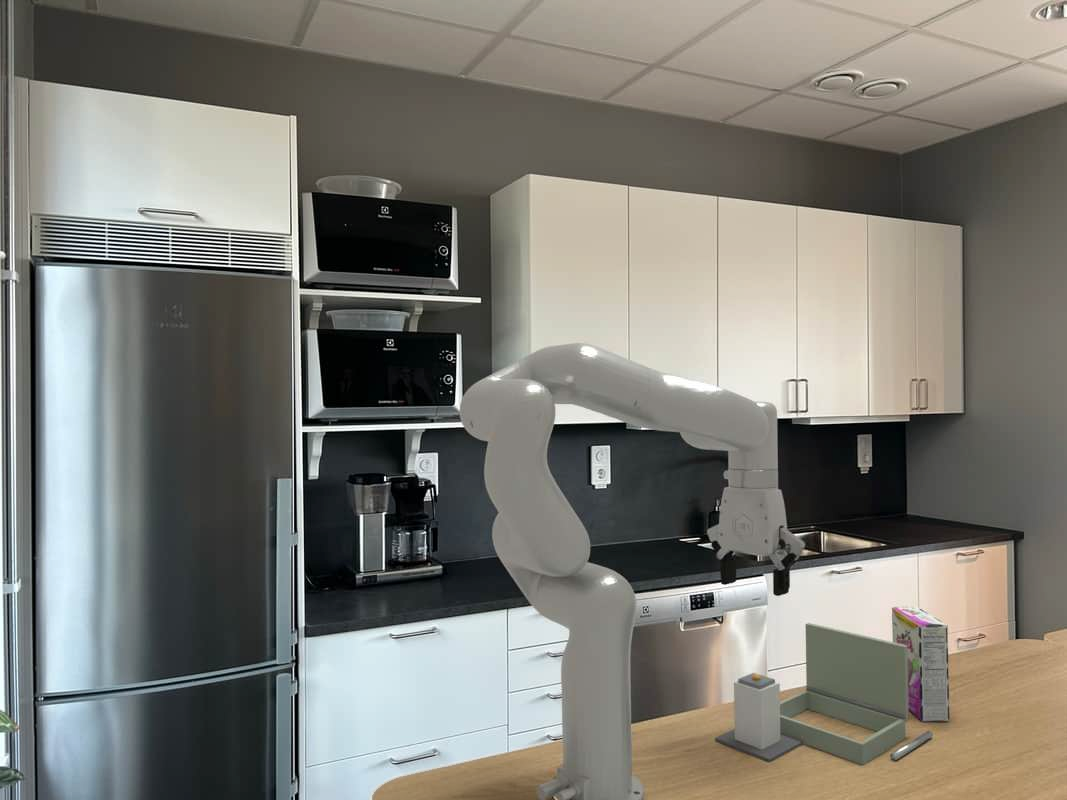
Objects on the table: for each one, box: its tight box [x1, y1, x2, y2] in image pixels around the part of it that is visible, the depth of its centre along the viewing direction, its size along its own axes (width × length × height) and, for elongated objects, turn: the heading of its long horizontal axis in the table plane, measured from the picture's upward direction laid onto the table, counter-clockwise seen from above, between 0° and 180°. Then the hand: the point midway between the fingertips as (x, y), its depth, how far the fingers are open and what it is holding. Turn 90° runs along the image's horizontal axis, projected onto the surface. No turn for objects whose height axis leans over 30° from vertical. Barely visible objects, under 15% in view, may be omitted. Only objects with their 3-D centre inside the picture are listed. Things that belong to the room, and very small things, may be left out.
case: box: [780, 622, 910, 766], centre depth 129 cm, size 15×17×14 cm
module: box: [733, 672, 781, 750], centre depth 126 cm, size 5×5×10 cm
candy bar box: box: [891, 606, 950, 723], centre depth 138 cm, size 11×5×16 cm, turn 179°
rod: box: [889, 730, 934, 761], centre depth 123 cm, size 12×1×1 cm, turn 130°
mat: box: [714, 728, 804, 763], centre depth 126 cm, size 9×10×1 cm
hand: (754, 588), depth 126 cm, fingers open, 9 cm apart
